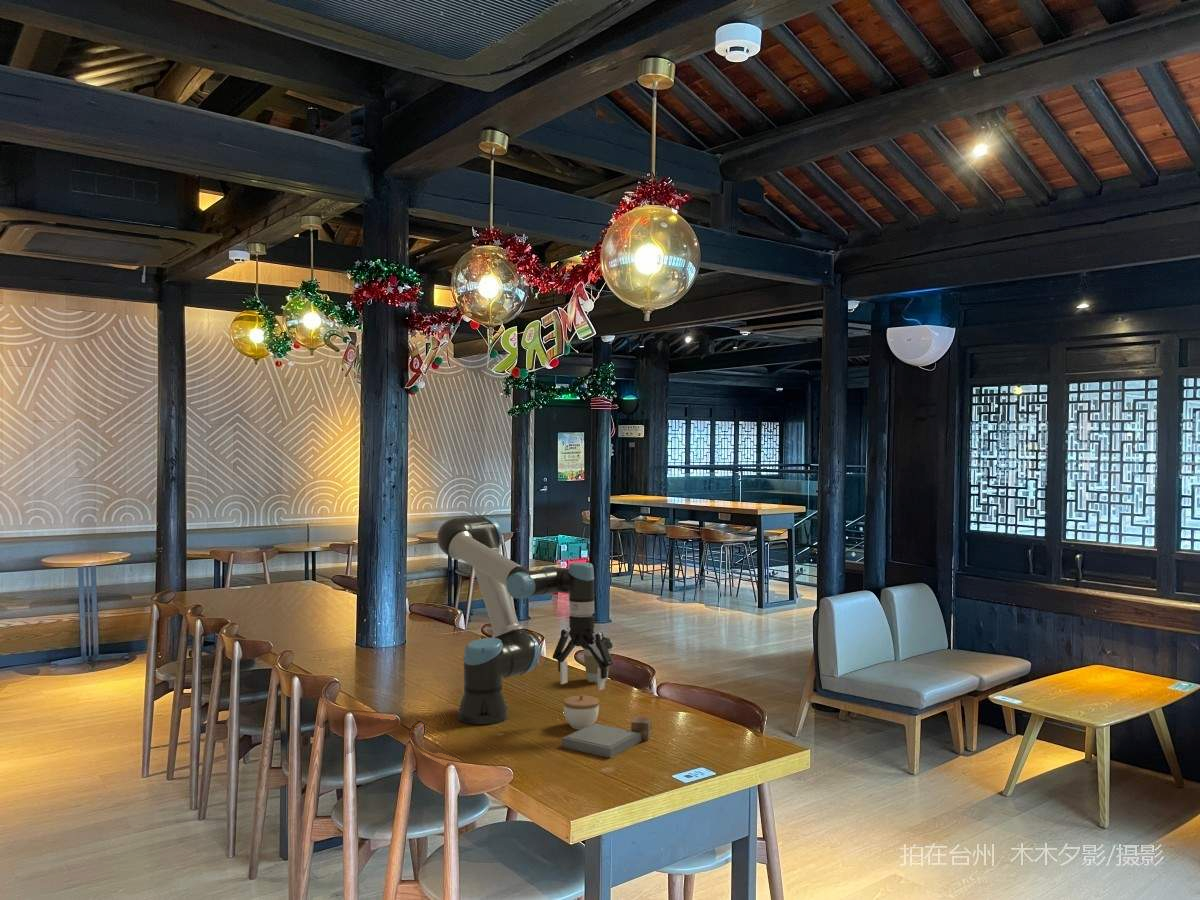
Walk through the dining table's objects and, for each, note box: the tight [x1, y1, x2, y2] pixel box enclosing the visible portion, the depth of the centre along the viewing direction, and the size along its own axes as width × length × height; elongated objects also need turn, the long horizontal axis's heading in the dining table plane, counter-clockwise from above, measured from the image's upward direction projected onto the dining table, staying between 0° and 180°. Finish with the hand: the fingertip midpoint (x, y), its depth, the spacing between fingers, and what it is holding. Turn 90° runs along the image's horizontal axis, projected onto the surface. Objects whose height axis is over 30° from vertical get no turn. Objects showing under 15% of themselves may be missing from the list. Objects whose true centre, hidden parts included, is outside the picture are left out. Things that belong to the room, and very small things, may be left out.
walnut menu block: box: [630, 716, 653, 742], centre depth 241 cm, size 5×5×5 cm
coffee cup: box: [581, 636, 613, 684], centre depth 303 cm, size 11×11×15 cm
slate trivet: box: [561, 722, 642, 759], centre depth 235 cm, size 16×16×3 cm
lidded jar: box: [563, 694, 600, 730], centre depth 251 cm, size 11×11×9 cm
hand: (582, 686), depth 251 cm, fingers open, 13 cm apart
